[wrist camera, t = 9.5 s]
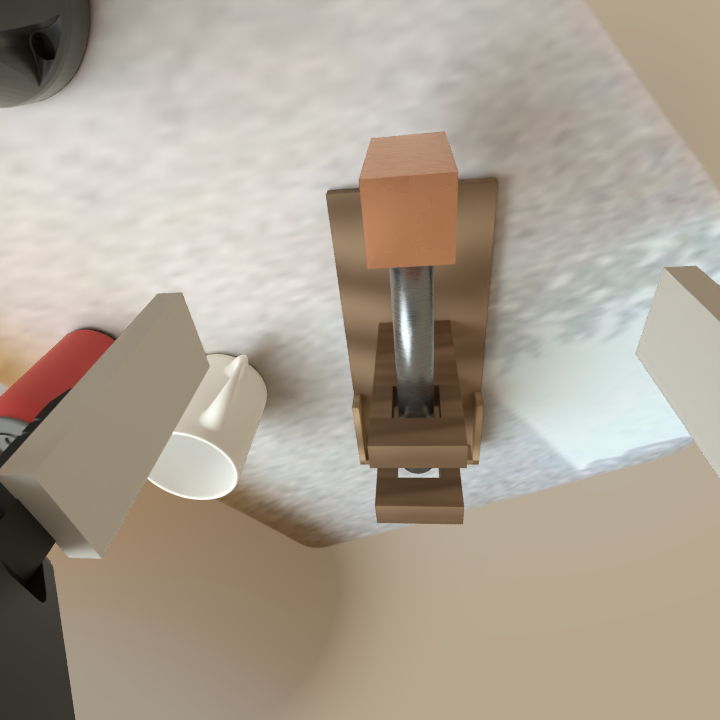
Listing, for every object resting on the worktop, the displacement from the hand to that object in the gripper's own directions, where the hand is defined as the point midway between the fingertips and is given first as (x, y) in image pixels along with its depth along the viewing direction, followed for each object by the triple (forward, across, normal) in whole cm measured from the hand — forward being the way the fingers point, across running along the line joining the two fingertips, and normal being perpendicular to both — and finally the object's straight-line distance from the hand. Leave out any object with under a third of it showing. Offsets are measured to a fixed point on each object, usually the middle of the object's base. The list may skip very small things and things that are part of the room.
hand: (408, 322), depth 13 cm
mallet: (+16, 0, -9) cm, 18 cm away
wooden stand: (+22, 0, -16) cm, 27 cm away
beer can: (+23, -31, -17) cm, 42 cm away
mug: (+23, -18, -20) cm, 35 cm away
